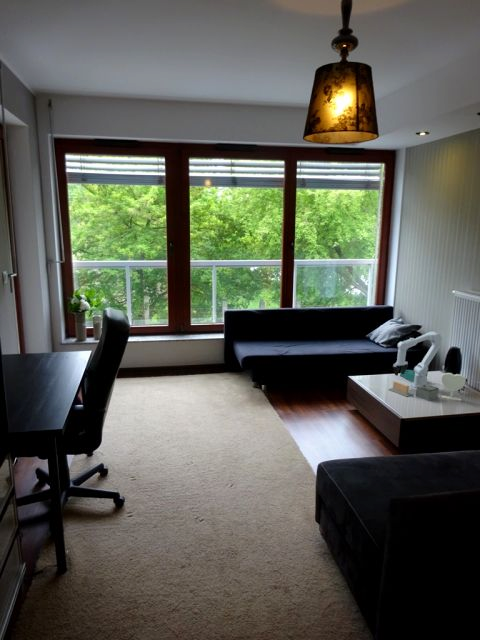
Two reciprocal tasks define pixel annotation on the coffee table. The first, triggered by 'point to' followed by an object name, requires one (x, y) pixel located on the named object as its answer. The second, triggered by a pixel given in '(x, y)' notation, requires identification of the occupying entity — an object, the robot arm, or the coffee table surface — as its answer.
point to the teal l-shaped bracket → (409, 375)
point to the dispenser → (427, 392)
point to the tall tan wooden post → (400, 387)
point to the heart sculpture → (453, 383)
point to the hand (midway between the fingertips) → (399, 374)
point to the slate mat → (400, 392)
